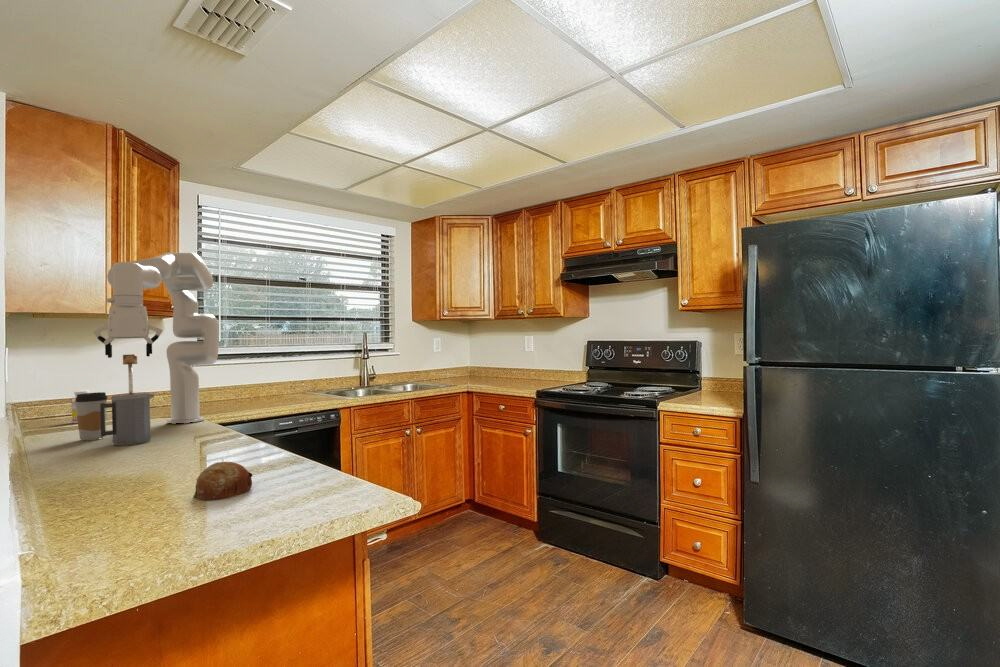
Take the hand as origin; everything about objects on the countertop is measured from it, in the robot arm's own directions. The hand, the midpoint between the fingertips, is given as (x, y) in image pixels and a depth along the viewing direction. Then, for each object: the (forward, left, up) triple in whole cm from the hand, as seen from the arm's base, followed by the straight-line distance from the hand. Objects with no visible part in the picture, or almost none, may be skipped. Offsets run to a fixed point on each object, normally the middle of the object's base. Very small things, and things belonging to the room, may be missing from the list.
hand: (129, 357), depth 158 cm
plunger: (0, 0, -18) cm, 18 cm away
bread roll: (+80, +21, -27) cm, 87 cm away
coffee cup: (-18, -12, -27) cm, 35 cm away
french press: (0, 0, -27) cm, 27 cm away
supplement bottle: (-72, -22, -27) cm, 80 cm away
